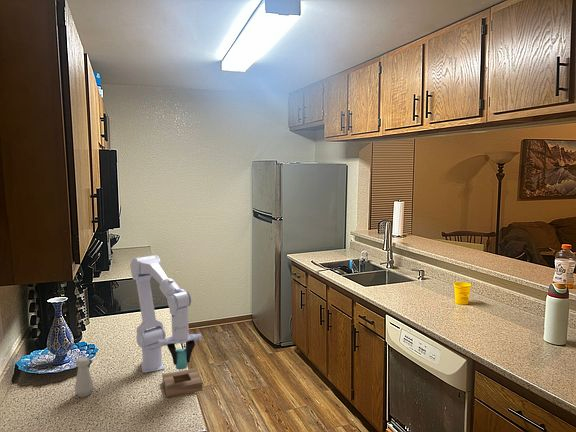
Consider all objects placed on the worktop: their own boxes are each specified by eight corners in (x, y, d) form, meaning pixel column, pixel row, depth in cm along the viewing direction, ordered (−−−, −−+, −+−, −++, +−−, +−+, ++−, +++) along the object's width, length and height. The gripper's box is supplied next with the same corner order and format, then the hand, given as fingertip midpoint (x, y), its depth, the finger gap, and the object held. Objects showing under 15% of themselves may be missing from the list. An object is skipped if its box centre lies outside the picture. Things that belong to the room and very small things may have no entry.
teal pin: (174, 365, 158) (174, 349, 158) (186, 363, 160) (185, 347, 159) (176, 370, 155) (176, 353, 154) (188, 368, 156) (187, 352, 156)
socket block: (162, 382, 161) (162, 374, 161) (195, 375, 166) (195, 368, 166) (167, 397, 150) (167, 389, 150) (202, 390, 155) (202, 382, 155)
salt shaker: (88, 388, 157) (86, 353, 156) (96, 393, 153) (94, 357, 152) (72, 395, 153) (70, 359, 151) (80, 400, 149) (77, 363, 147)
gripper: (160, 332, 149) (161, 371, 151) (203, 326, 155) (204, 363, 157) (157, 325, 156) (159, 362, 157) (198, 320, 161) (199, 355, 163)
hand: (181, 362), depth 157 cm, fingers closed on teal pin, 4 cm apart
